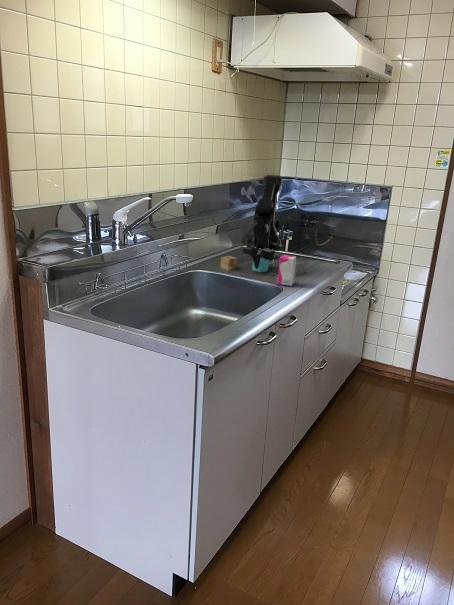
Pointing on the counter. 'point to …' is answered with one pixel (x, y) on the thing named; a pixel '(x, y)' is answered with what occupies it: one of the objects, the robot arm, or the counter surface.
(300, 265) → the charcoal cube
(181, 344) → the counter surface
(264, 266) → the teal cube
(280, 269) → the supplement box
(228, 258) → the walnut cube
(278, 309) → the counter surface
